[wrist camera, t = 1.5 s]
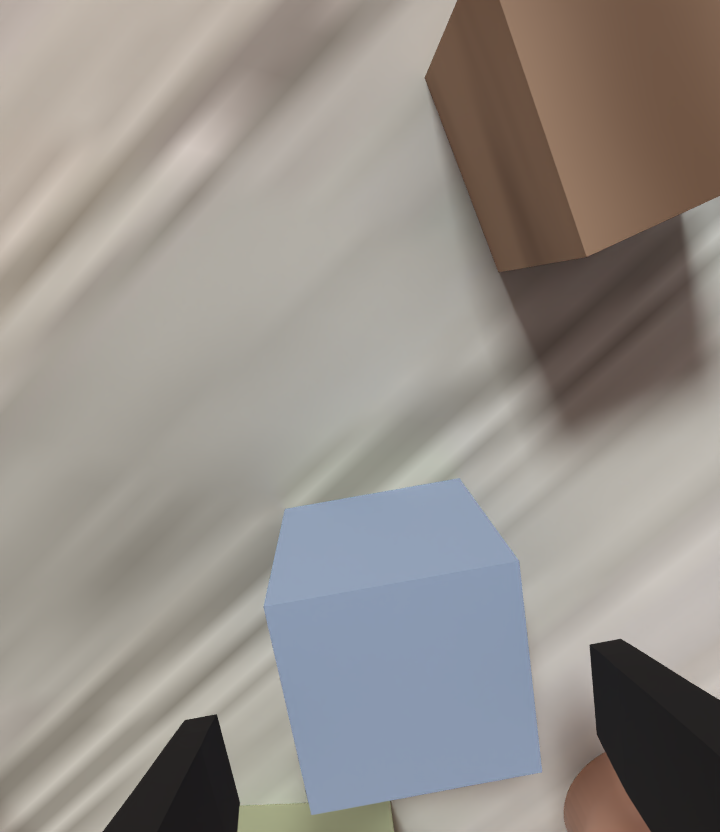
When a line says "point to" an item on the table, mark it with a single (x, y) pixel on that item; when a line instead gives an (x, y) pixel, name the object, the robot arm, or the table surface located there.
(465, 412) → the table surface
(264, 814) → the olive cube
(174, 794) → the robot arm
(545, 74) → the walnut cube
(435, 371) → the table surface
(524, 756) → the slate blue cube
